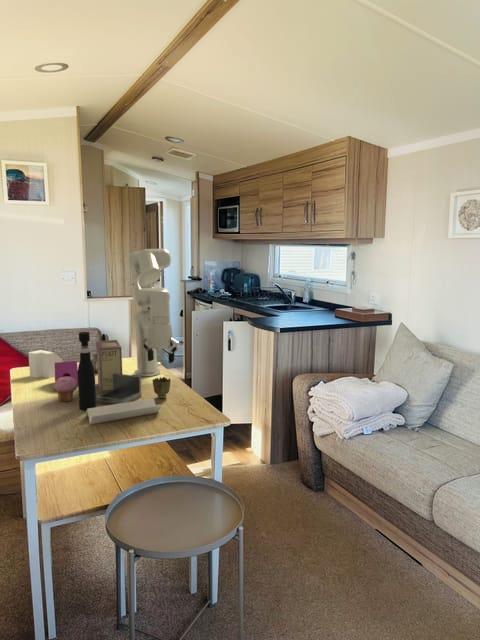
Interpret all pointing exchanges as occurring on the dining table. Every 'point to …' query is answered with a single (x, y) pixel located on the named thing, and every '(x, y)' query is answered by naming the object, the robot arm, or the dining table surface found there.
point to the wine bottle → (86, 375)
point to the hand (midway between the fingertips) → (161, 361)
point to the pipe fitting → (94, 361)
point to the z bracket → (122, 410)
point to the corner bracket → (43, 363)
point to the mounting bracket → (66, 370)
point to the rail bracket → (122, 390)
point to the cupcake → (65, 388)
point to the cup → (161, 387)
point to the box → (108, 363)
